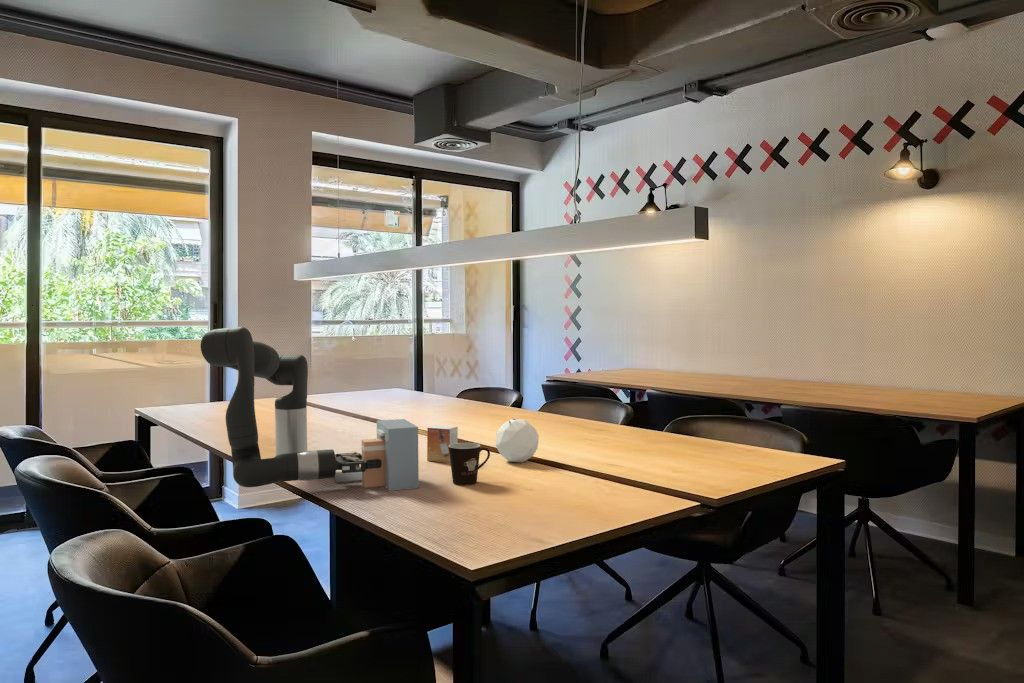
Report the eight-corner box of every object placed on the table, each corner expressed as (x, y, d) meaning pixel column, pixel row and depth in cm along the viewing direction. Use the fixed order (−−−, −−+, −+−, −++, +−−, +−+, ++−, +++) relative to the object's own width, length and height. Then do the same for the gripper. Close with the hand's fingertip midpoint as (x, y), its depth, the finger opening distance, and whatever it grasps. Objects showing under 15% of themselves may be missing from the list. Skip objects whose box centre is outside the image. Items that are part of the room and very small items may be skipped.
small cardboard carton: (361, 484, 194) (361, 439, 194) (384, 482, 196) (384, 438, 196) (364, 487, 190) (363, 442, 190) (387, 485, 192) (387, 440, 192)
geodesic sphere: (527, 450, 211) (536, 409, 218) (483, 447, 215) (493, 407, 223) (539, 471, 222) (547, 432, 229) (497, 468, 227) (506, 430, 234)
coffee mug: (449, 486, 190) (449, 449, 190) (447, 479, 199) (447, 443, 199) (493, 485, 192) (493, 447, 192) (489, 477, 201) (489, 442, 200)
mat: (331, 474, 206) (331, 472, 206) (370, 471, 210) (370, 469, 210) (337, 483, 195) (337, 481, 195) (378, 480, 199) (378, 478, 199)
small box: (426, 461, 224) (426, 427, 223) (435, 458, 229) (435, 424, 229) (450, 463, 221) (449, 428, 220) (458, 459, 226) (457, 426, 225)
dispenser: (374, 478, 201) (373, 420, 201) (404, 475, 204) (404, 418, 204) (385, 491, 186) (384, 429, 186) (418, 488, 189) (418, 427, 189)
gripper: (318, 455, 181) (383, 450, 187) (312, 446, 194) (373, 441, 200) (318, 485, 181) (383, 479, 187) (313, 473, 194) (373, 468, 200)
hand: (378, 460), depth 193 cm, fingers open, 8 cm apart
